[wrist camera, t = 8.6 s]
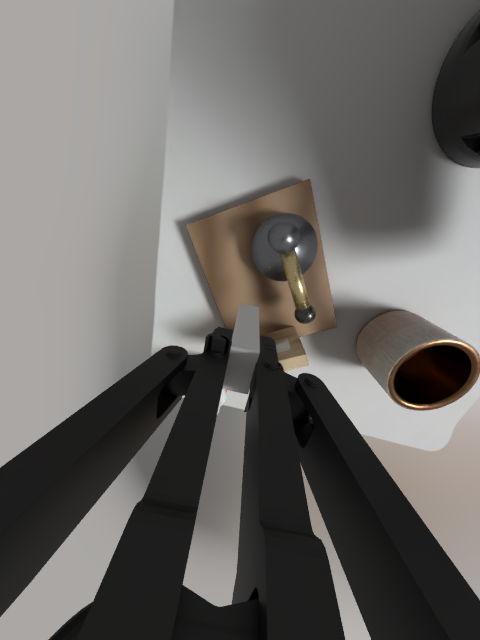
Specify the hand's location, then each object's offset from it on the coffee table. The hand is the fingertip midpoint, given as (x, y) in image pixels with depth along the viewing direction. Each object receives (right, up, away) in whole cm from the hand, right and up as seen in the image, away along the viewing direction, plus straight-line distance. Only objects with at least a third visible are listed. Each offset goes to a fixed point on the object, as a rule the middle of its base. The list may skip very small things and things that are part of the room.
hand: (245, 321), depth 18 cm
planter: (+24, -3, +19) cm, 31 cm away
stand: (+3, +6, +16) cm, 17 cm away
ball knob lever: (+6, +7, +13) cm, 16 cm away
